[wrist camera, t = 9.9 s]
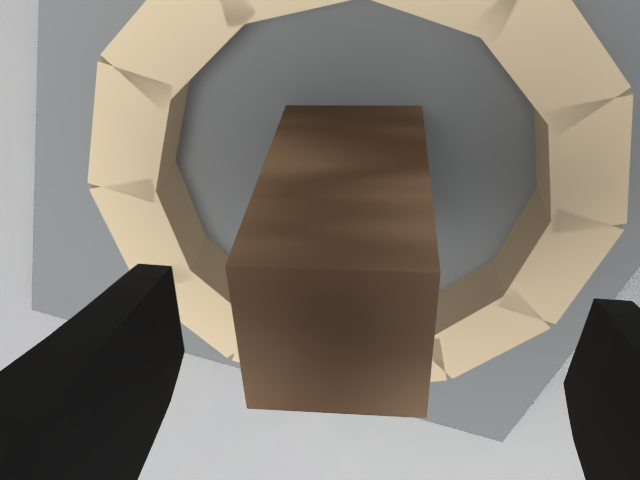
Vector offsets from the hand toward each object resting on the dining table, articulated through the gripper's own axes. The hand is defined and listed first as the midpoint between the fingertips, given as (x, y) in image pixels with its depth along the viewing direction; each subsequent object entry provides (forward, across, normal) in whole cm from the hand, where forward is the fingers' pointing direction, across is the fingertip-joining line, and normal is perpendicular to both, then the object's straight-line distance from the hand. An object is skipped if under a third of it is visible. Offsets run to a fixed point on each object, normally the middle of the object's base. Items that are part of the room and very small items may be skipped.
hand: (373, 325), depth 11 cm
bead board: (+9, +1, +2) cm, 10 cm away
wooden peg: (+9, +1, +2) cm, 9 cm away
